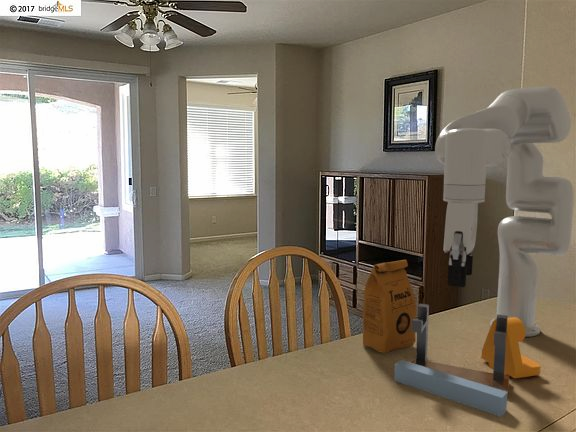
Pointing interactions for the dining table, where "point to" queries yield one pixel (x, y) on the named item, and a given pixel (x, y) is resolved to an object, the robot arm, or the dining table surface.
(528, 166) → the robot arm
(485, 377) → the stand
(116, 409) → the dining table surface
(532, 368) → the bracket
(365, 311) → the coffee package
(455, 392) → the rail
